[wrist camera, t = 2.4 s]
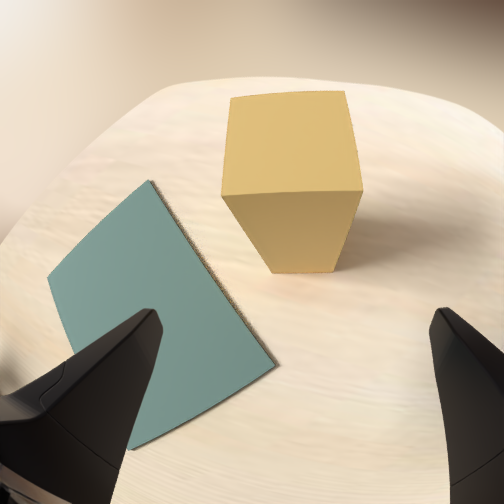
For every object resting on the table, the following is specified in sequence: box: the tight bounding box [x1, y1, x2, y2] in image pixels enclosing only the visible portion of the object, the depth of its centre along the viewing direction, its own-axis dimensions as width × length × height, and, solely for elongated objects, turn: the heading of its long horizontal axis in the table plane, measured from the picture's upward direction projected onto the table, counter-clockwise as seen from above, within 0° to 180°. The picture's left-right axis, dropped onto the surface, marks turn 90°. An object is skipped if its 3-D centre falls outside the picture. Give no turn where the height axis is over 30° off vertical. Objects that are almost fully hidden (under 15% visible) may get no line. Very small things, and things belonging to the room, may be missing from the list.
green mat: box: [47, 180, 275, 451], centre depth 23 cm, size 20×16×1 cm
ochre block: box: [221, 91, 363, 273], centre depth 15 cm, size 4×4×13 cm
